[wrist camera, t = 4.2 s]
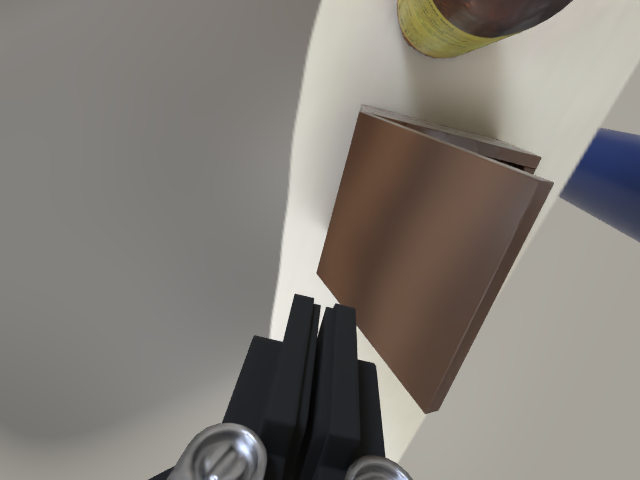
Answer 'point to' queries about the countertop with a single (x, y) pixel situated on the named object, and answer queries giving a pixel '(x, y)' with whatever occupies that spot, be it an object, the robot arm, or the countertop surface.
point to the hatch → (424, 247)
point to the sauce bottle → (468, 22)
